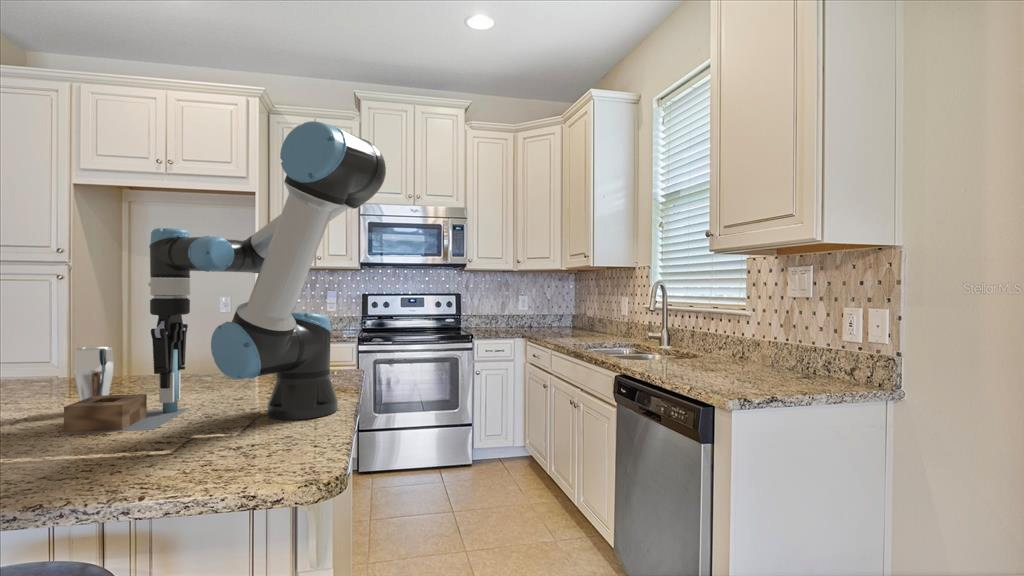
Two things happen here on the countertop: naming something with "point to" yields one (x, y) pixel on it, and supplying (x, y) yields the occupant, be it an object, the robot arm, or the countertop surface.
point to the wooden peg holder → (105, 413)
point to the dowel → (174, 405)
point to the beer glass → (93, 371)
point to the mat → (146, 421)
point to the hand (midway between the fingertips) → (170, 400)
